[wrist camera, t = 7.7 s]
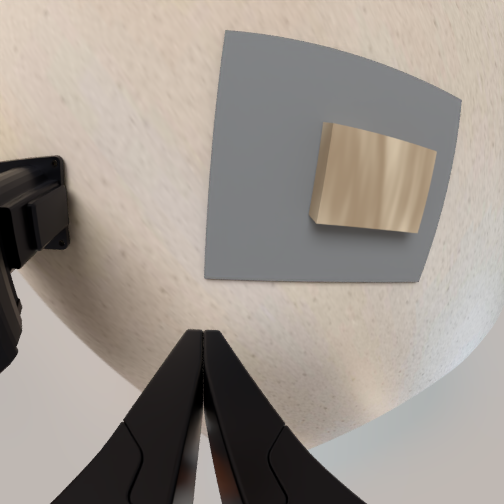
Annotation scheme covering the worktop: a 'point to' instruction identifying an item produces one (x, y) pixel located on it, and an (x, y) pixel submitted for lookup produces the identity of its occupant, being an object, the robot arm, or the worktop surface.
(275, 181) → the mat
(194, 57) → the worktop surface
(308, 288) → the worktop surface
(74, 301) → the worktop surface
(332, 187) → the tile
